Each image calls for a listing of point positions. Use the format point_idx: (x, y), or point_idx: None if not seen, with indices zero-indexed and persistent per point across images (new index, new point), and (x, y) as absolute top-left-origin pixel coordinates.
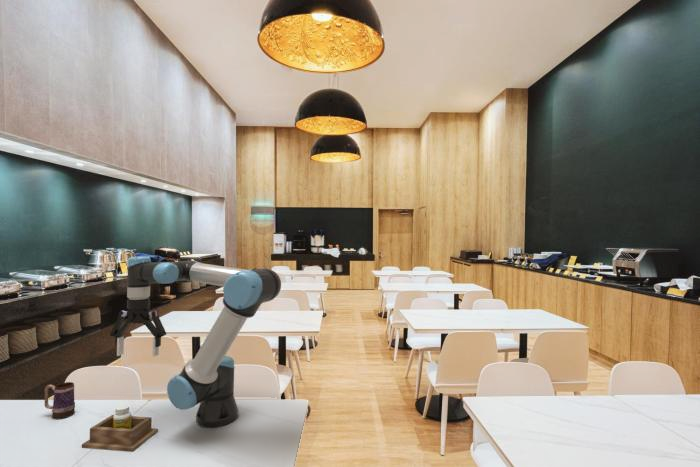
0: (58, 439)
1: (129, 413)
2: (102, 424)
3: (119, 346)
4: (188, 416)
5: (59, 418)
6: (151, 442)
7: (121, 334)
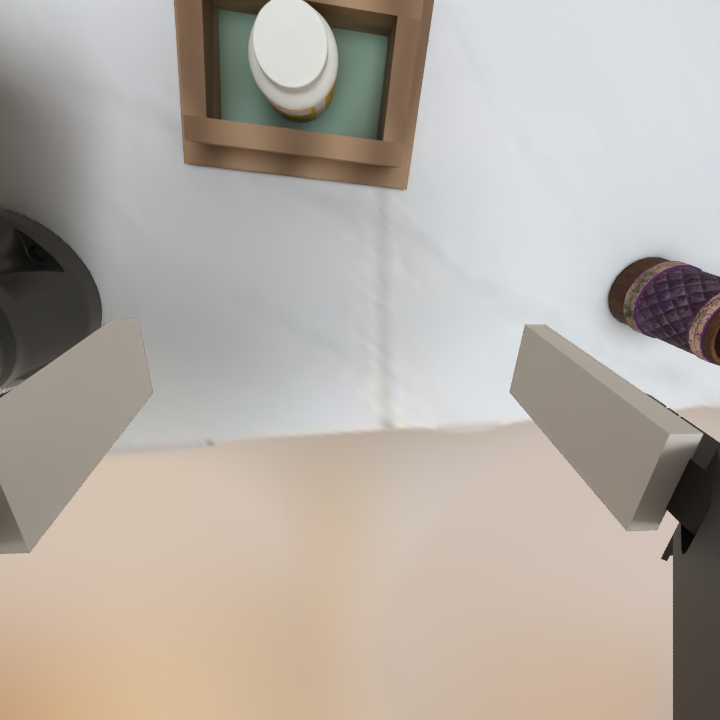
0: (566, 80)
1: (253, 58)
2: (392, 57)
3: (577, 375)
4: (148, 304)
5: (644, 259)
6: (149, 53)
7: (689, 544)
